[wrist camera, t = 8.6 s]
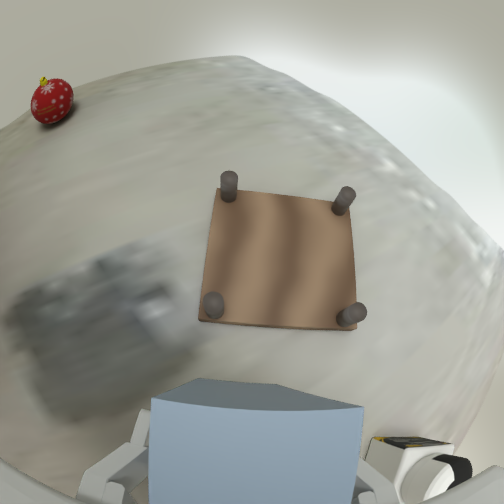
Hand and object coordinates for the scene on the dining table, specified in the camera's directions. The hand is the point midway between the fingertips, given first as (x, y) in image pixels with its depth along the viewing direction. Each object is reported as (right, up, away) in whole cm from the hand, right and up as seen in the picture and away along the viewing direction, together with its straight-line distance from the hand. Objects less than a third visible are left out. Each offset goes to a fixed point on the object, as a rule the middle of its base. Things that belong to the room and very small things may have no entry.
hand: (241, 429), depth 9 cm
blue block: (-1, -3, +5) cm, 6 cm away
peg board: (+4, +6, +22) cm, 23 cm away
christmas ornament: (-35, +32, +30) cm, 56 cm away
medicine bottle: (+16, -18, +13) cm, 27 cm away
